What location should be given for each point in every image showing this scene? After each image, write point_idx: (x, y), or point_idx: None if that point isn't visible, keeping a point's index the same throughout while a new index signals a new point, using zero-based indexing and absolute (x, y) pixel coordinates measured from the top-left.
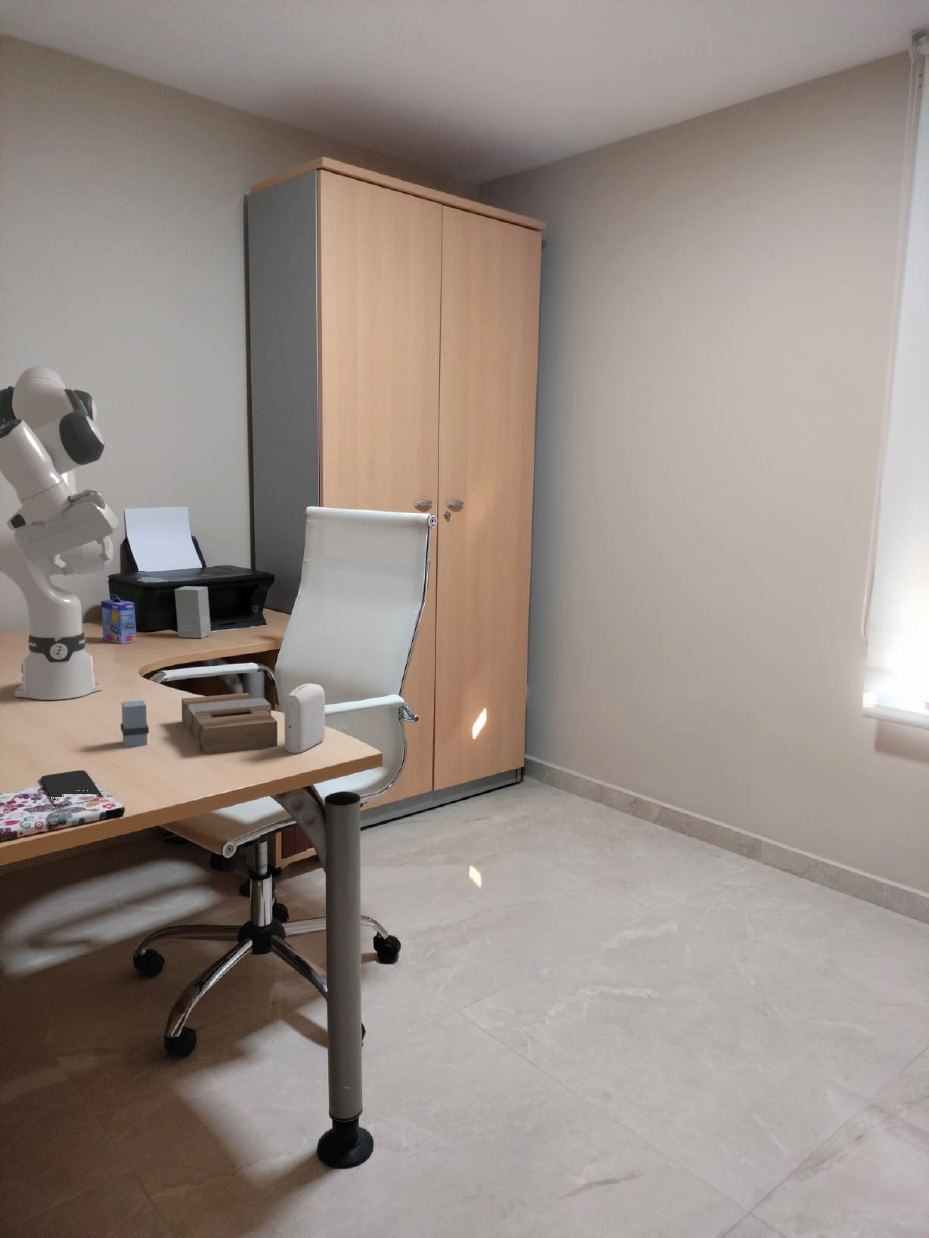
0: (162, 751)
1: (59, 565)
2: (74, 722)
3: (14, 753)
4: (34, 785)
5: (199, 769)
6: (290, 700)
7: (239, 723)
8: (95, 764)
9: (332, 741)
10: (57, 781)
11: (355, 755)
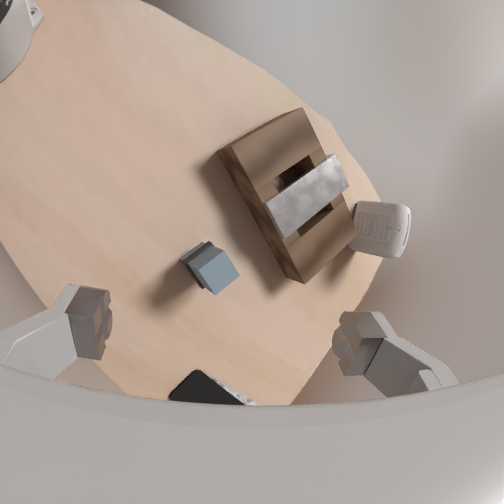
0: (242, 281)
1: (62, 364)
2: (67, 187)
3: None
4: None
5: (295, 320)
6: (392, 257)
7: (330, 252)
8: (194, 344)
9: None
10: (192, 401)
11: None
